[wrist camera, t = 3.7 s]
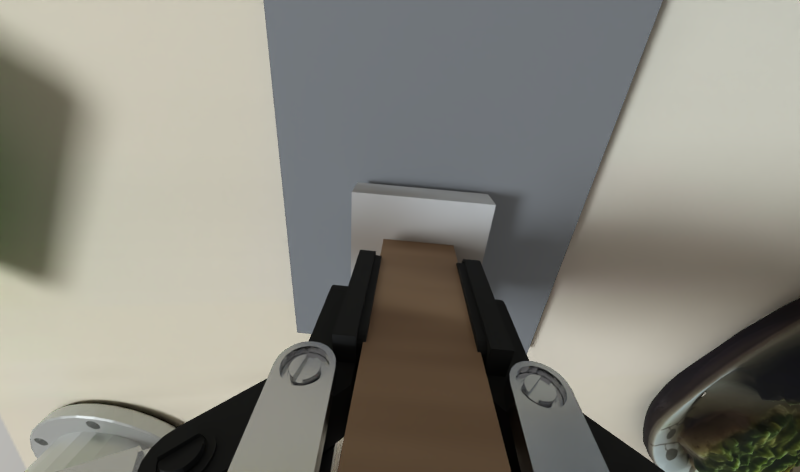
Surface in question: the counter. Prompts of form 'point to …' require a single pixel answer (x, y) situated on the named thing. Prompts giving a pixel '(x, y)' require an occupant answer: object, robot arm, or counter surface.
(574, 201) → the mat
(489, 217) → the wood block on base
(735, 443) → the salad plate
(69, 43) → the counter surface
